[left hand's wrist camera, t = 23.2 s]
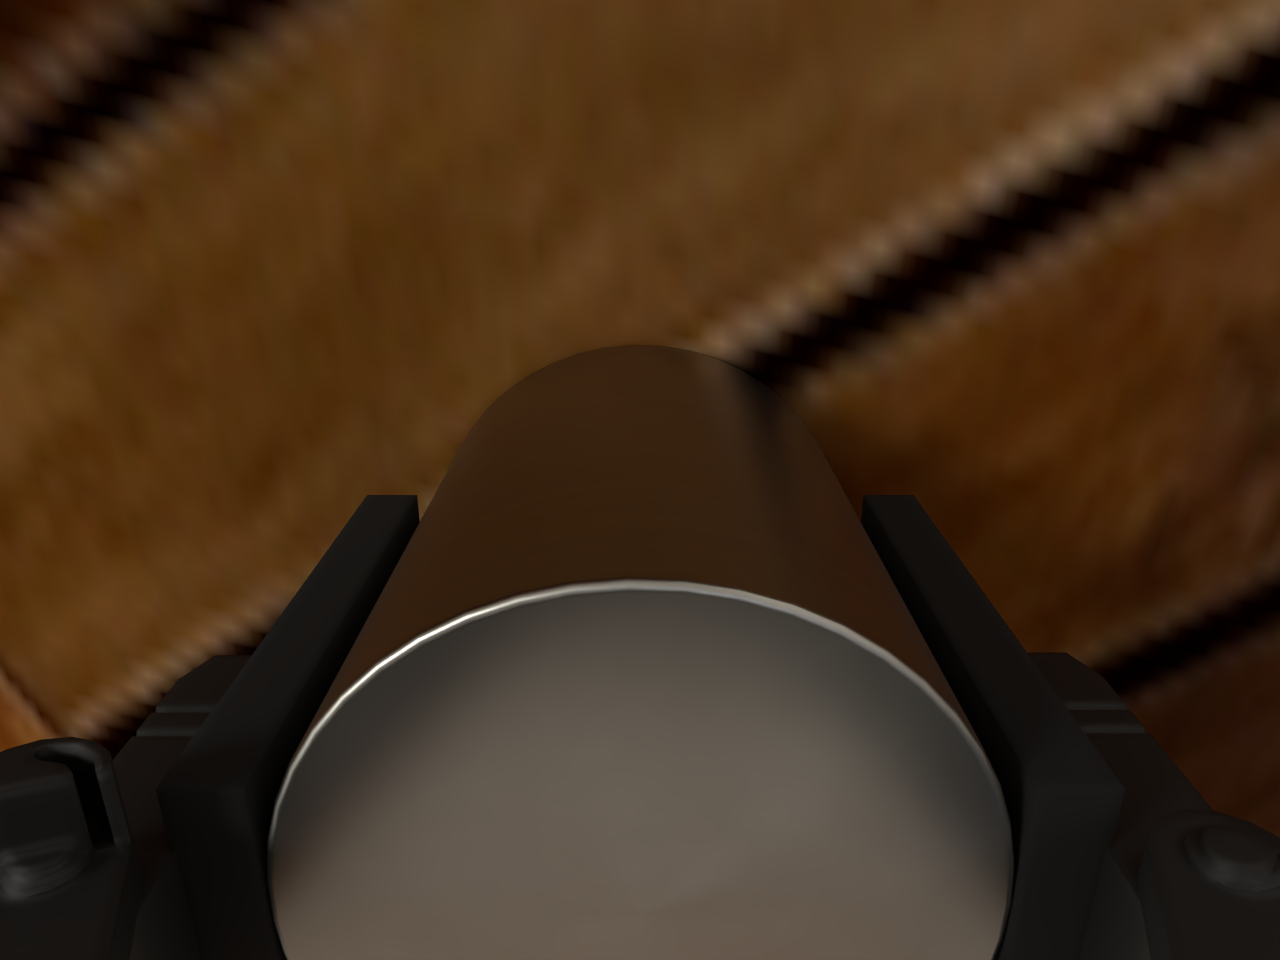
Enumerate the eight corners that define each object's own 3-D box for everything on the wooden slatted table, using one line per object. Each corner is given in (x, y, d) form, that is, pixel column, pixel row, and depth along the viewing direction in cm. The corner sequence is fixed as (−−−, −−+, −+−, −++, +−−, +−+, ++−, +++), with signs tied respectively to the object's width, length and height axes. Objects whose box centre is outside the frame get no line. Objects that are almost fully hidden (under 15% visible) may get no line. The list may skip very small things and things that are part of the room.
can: (631, 252, 14) (621, 405, 6) (920, 531, 16) (1171, 901, 8) (360, 545, 16) (115, 924, 8) (646, 765, 17) (652, 1241, 10)
